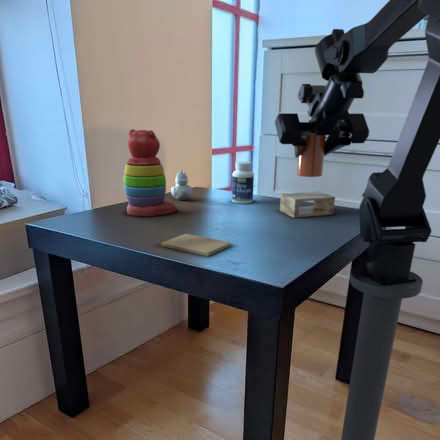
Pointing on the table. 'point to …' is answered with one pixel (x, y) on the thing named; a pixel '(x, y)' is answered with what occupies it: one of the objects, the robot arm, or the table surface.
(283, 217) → the table surface
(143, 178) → the stacking bear
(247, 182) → the pill bottle
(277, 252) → the table surface
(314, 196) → the box
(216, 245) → the cork mat
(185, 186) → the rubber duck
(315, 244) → the table surface
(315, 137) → the cylinder
